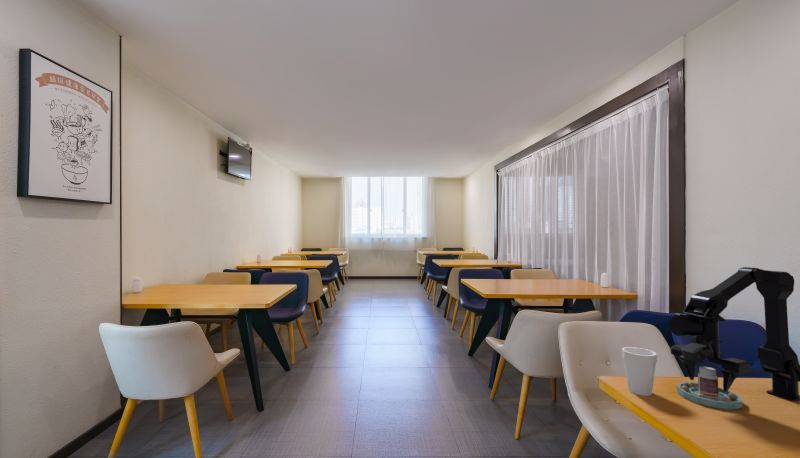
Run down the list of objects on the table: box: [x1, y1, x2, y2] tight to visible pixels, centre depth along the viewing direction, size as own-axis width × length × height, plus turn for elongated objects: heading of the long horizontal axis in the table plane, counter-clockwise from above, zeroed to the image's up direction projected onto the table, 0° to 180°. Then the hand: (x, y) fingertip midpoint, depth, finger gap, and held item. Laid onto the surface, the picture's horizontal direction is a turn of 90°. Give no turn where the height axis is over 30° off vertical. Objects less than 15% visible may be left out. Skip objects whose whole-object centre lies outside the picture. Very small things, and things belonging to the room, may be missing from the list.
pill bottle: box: [697, 365, 719, 399], centre depth 109 cm, size 5×5×8 cm
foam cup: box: [621, 346, 658, 397], centre depth 113 cm, size 10×9×13 cm
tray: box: [676, 381, 743, 411], centre depth 108 cm, size 15×15×3 cm
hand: (708, 385), depth 109 cm, fingers open, 9 cm apart
